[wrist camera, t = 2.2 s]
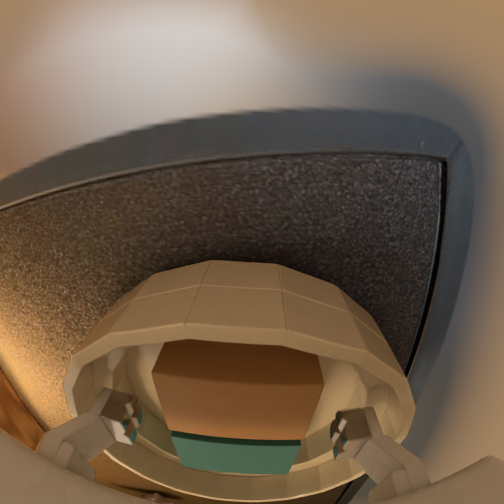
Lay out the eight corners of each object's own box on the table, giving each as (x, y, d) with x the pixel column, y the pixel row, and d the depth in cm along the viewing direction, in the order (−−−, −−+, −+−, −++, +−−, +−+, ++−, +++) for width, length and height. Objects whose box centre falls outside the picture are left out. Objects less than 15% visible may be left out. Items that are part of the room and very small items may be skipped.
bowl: (78, 244, 10) (11, 290, 6) (418, 264, 10) (479, 320, 6) (139, 433, 16) (123, 479, 11) (338, 447, 15) (347, 495, 11)
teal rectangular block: (181, 394, 12) (170, 436, 10) (296, 402, 12) (301, 445, 10) (189, 430, 14) (182, 466, 11) (286, 437, 14) (288, 474, 11)
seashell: (173, 487, 23) (166, 502, 20) (183, 505, 22) (177, 520, 19) (93, 480, 23) (81, 490, 19) (103, 498, 22) (93, 509, 18)
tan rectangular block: (170, 326, 11) (150, 372, 8) (313, 336, 11) (325, 384, 8) (180, 387, 12) (168, 429, 10) (298, 395, 12) (304, 439, 10)
